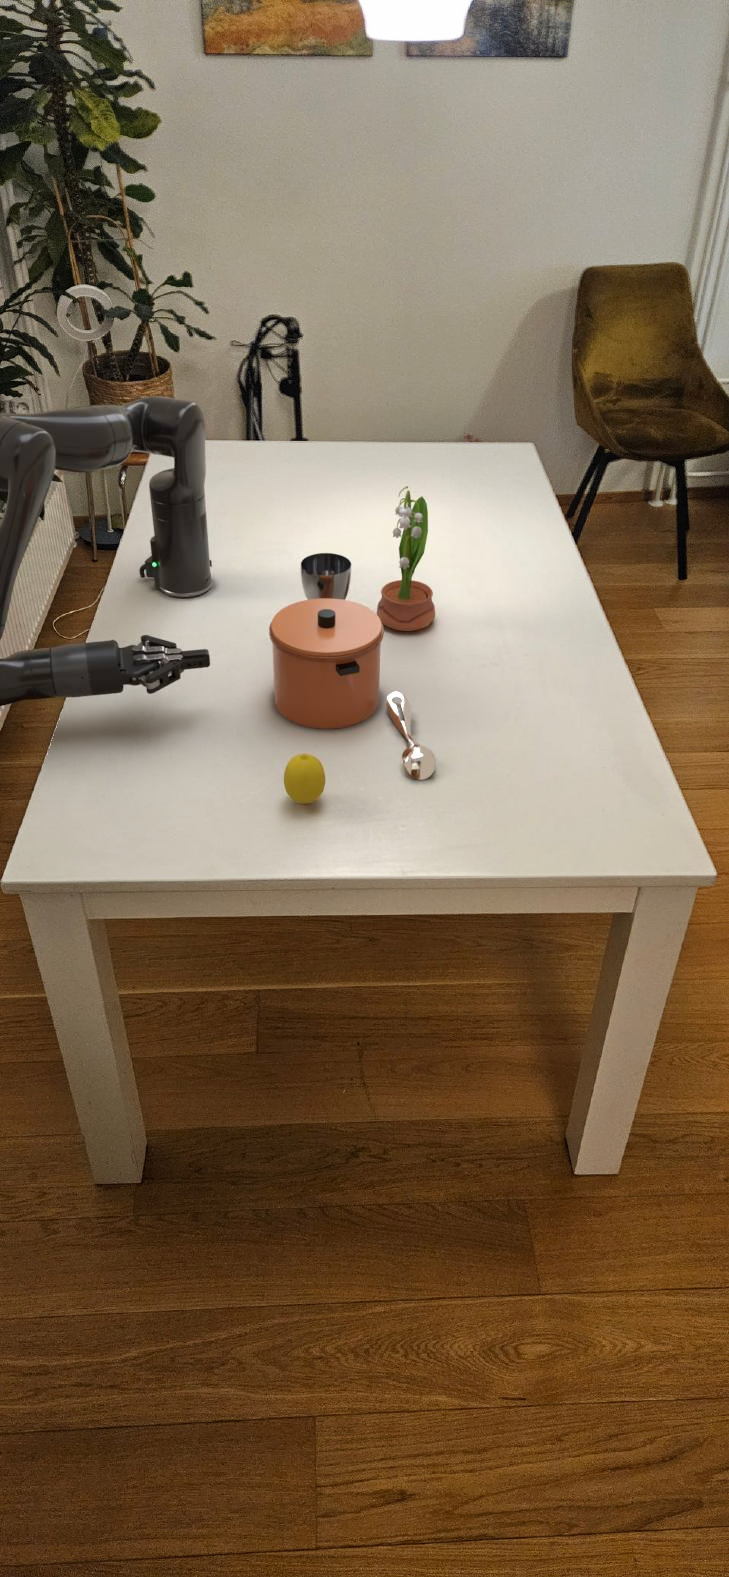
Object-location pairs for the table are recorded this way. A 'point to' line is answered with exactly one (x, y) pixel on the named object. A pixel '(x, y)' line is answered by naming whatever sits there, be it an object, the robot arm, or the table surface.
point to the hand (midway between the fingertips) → (209, 657)
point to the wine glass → (326, 576)
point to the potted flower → (408, 573)
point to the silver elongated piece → (411, 741)
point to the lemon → (304, 778)
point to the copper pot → (326, 662)
